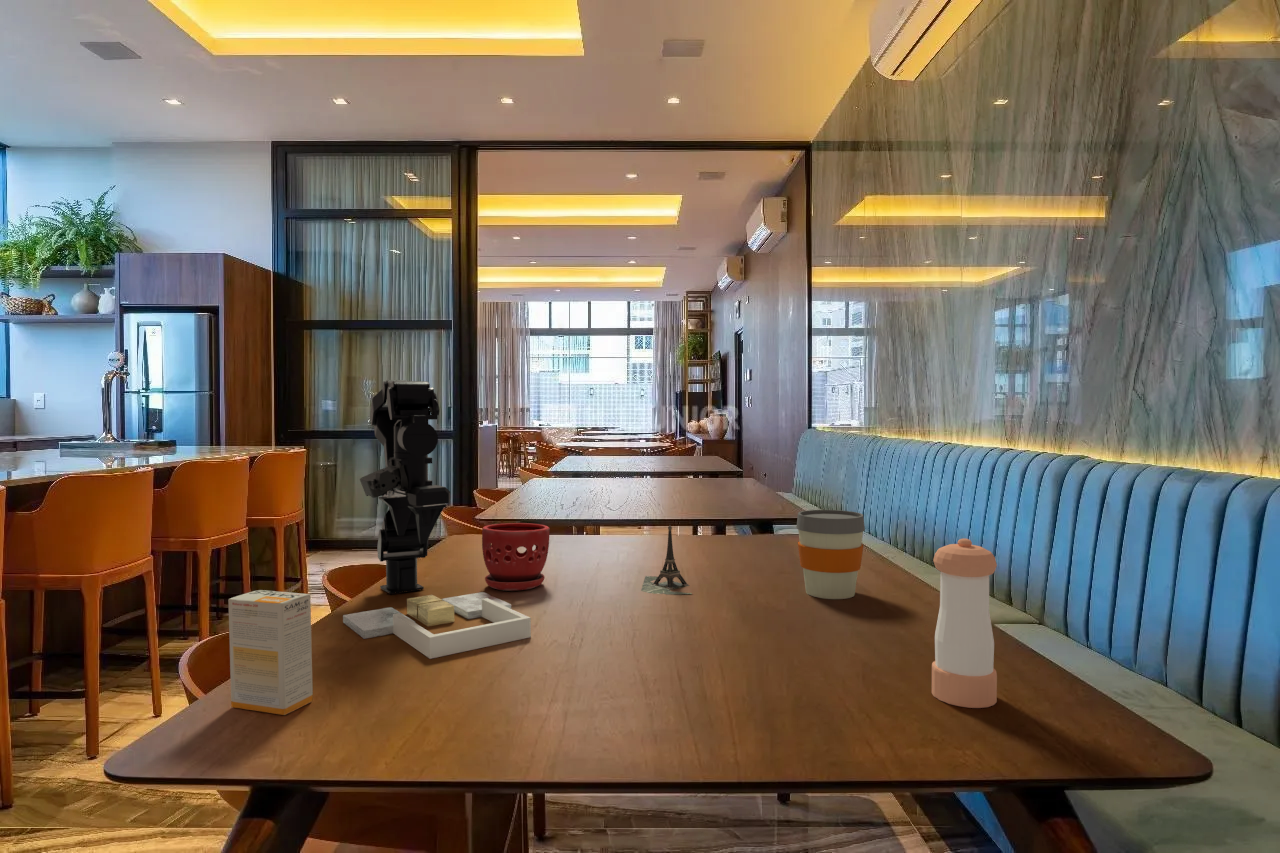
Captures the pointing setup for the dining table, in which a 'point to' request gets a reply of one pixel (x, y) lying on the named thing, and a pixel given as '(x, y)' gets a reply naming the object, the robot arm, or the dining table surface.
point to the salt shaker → (964, 627)
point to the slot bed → (382, 619)
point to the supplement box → (270, 651)
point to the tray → (466, 632)
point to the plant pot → (515, 555)
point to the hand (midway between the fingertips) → (411, 539)
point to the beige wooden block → (436, 613)
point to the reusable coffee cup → (830, 551)
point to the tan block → (414, 602)
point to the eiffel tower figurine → (665, 575)
